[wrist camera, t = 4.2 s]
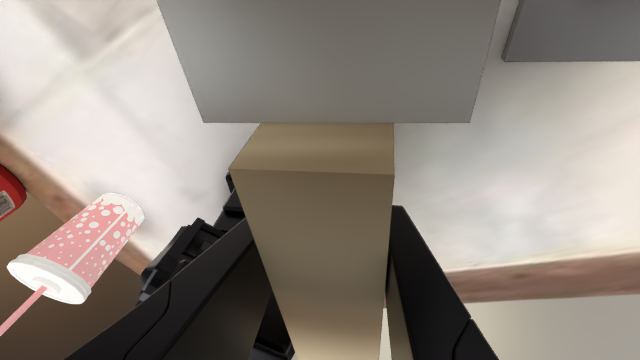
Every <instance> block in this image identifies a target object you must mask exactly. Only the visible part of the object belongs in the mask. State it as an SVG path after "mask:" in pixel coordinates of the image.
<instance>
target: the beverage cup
mask: <svg viewBox="0 0 640 360" xmlns="http://www.w3.org/2000/svg"><path fill="white" fill-rule="evenodd" d="M143 220H144V213H143V211H142V209H141V208H140V207H139V206H138V205H137V204H136V203H135V202H134V201H132V200H131V199H129V198H128V197H126V196H123V195H121V194H119V193H113V192H108V193H104V194H103V195H102V196H100V197H99V198H98V199H97V200H95V201H94V202H93V203H91V204H90V205H89V206H87V207H86V208H85V209H84V210H82V211H81V212H80V213H78V214H77V215H76V216H75V217H73V218H72V219H71V220H69V221H68V222H67V223H65V224H64V225H63V226H62V227H60V228H59V229H58V230H56V231H55V232H54V233H53V234H51V235H50V236H49V237H47V238H46V239H45V240H43V241H42V242H41V243H40V244H38V245H37V246H36V247H34V248H33V249H32V250H30V251H29V252H28V253H27V254H24V255H19V256H18V257H17V259H15V260H12V261H11V262H10V263H9V264H8V266H7V268H8V270H9V272H10V273H11V274H12V275H13V276H14V277H15V278H16V279H18V280H19V281H20V282H21V283H23V284H25V285H27V286H28V287H29V288H31V289H33V290H35V291H36V292H35V293H34V294H33V295H32V296H31V297H30V298H29V299H28V300H27V301H26V302H25V303H24V304H23V305H22V306H21V307H20V308H19V309H18V310H17V311H15V312H14V314H12V315H11V316H10V317H9V318H8V319H7V320H6V321H5V322H4V323H3V324H2V325H1V326H0V336H1V335H2V334H3V333H4V332H5V331H6V330H7V329H8V328H9V327H10V326H11V325H12V324H13V323H14V322H15V321H16V320H17V319H18V318H19V317H20V316H21V314H23V313H24V312H25V311H26V310H27V309H28V308H29V307H30V306H31V305H32V304H33V303H34V302H35V301H36V300H37V299H38V298H39V297H40V295H42V294H43V295H45V296H47V297H50V298H53V299H55V300H58V301H61V302H66V303H70V304H81V303H82V302H84V301H85V300H86V299H87V296H88V295H89V294H90V293H91V287H92V286H93V285H94V284H95V282H96V281H97V280H98V278H99V277H100V276H101V274H102V273H103V272H104V271H105V269H106V268H107V267H108V265H109V264H110V263H111V262H112V260H113V259H114V258H115V256H116V255H117V254H118V253H119V251H120V250H121V249H122V247H123V246H124V245H125V244H126V242H127V241H128V240H129V238H130V237H131V236H132V234H133V233H134V232H135V231H136V229H137V228H138V227H139V225H140V224H141V223H142V222H143Z"/></svg>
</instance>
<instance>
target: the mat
mask: <svg viewBox="0 0 640 360" xmlns="http://www.w3.org/2000/svg"><path fill="white" fill-rule="evenodd" d="M502 60H503V61H504V62H570V61H640V0H520V3H519V6H518V9H517V12H516V16H515V19H514V22H513V25H512V28H511V31H510V34H509V37H508V40H507V44H506V47H505V50H504V53H503V56H502Z"/></svg>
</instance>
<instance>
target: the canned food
mask: <svg viewBox="0 0 640 360" xmlns="http://www.w3.org/2000/svg"><path fill="white" fill-rule="evenodd" d="M26 196H27V195H26V191H25V189H24V187H23V186H22V184H21V183H20V182H19V181H18V180H17V178H16V177H15V176H14V175H13V174H11V173H10V172H9V171H8V170H7V169H5V168H4V167H3V166H1V165H0V221H1V220H3V219H4V218H5V217H7V216H8V215H10V214H11V213H13V212H14V211H15V210H17V209H18V208H19V207H20V206H21V205H22V204H23V203H24V201H25V200H26Z"/></svg>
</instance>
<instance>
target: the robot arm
mask: <svg viewBox="0 0 640 360" xmlns="http://www.w3.org/2000/svg"><path fill="white" fill-rule="evenodd" d="M226 180H227V183H228V186H229V189H230V192H231V195H230V196H229V198H228V200H227V201H226V203H225V204H224V206H223V211H222V212H221V214H220V216H219V217H218V219H217V220H216V222H215V224H214V225H213V226H211V225H209V224H207V223H205V221H204V220H202V219H200V218H197V219H196V220H195V221H194V223H193V224H192V225H188V226H184V227H181V228H180V230H179V231H178V232H177V234H176V235H175V236H174V238H173V239H172V240H171V242H170V243H169V244H168V245H167V247H166V248H165V249H164V250H163V251H162V252H161V253H160V254H159V255H158V256H157V257H156V258H155V259H154V260H153V261H152V262H151V263H150V264H149V265H148V266H147V267H146V268H145V269H144V271H143V272H142V274H141V276H140V280H141V284H142V290H141V292H140V294H139V296H140V299H139V301H138V302H137V304H136V306H135V308H134V309H133V310H131V311H130V312H128V313H127V314H126V315H124V316H123V317H122V318H120V319H119V320H118V321H116V322H115V323H114V324H112V325H111V326H109V327H108V328H107V329H105V330H104V331H102V332H101V333H100V334H99V335H97V336H95V337H94V338H93V339H91V340H90V341H88V342H87V343H86V344H84V345H83V346H81V347H80V348H79V349H77V350H76V351H74V352H73V353H72V354H70V355H69V356H67V357H66V358H65V359H63V360H291V359H292V357H293V355H294V353H295V350H294V347H293V344H292V342H291V339H290V336H289V333H288V331H287V328H286V325H285V322H284V320H283V317H282V314H281V312H280V309H279V306H278V303H277V301H276V298H275V295H274V292H273V290H272V287H271V284H270V281H269V279H268V276H267V273H266V270H265V268H264V265H263V262H262V260H261V257H260V254H259V251H258V249H257V246H256V243H255V240H254V238H253V235H252V232H251V229H250V227H249V224H248V221H247V218H246V216H245V213H244V210H243V207H242V205H241V202H240V199H239V197H238V194H237V191H236V188H235V186H234V183H233V180H232V177H231V175H230V172H228V174H227V175H226ZM385 297H386V307H387V317H388V327H389V336H390V347H391V357H392V360H499V359H498V357H497V356H496V354H495V353H494V351H493V350H492V348H491V347H490V345H489V344H488V342H487V341H486V339H485V338H484V336H483V334H482V333H481V331H480V329H479V328H478V326H477V325H476V323H475V322H474V320H473V319H471V315H470V314H469V312H468V310H467V309H466V307H465V306H464V304H463V302H462V301H461V299H460V297H459V296H458V294H457V293H456V291H455V289H454V288H453V286H452V285H451V283H450V281H449V280H448V278H447V276H446V275H445V273H444V272H443V270H442V268H441V267H440V265H439V264H438V262H437V260H436V259H435V257H434V256H433V254H432V252H431V251H430V249H429V247H428V246H427V244H426V243H425V241H424V239H423V238H422V236H421V235H420V233H419V231H418V230H417V228H416V226H415V225H414V223H413V222H412V220H411V218H410V217H409V215H408V214H407V212H406V210H405V209H404V207H403V206H399V205H392V210H391V222H390V234H389V246H388V258H387V270H386V282H385Z"/></svg>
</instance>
